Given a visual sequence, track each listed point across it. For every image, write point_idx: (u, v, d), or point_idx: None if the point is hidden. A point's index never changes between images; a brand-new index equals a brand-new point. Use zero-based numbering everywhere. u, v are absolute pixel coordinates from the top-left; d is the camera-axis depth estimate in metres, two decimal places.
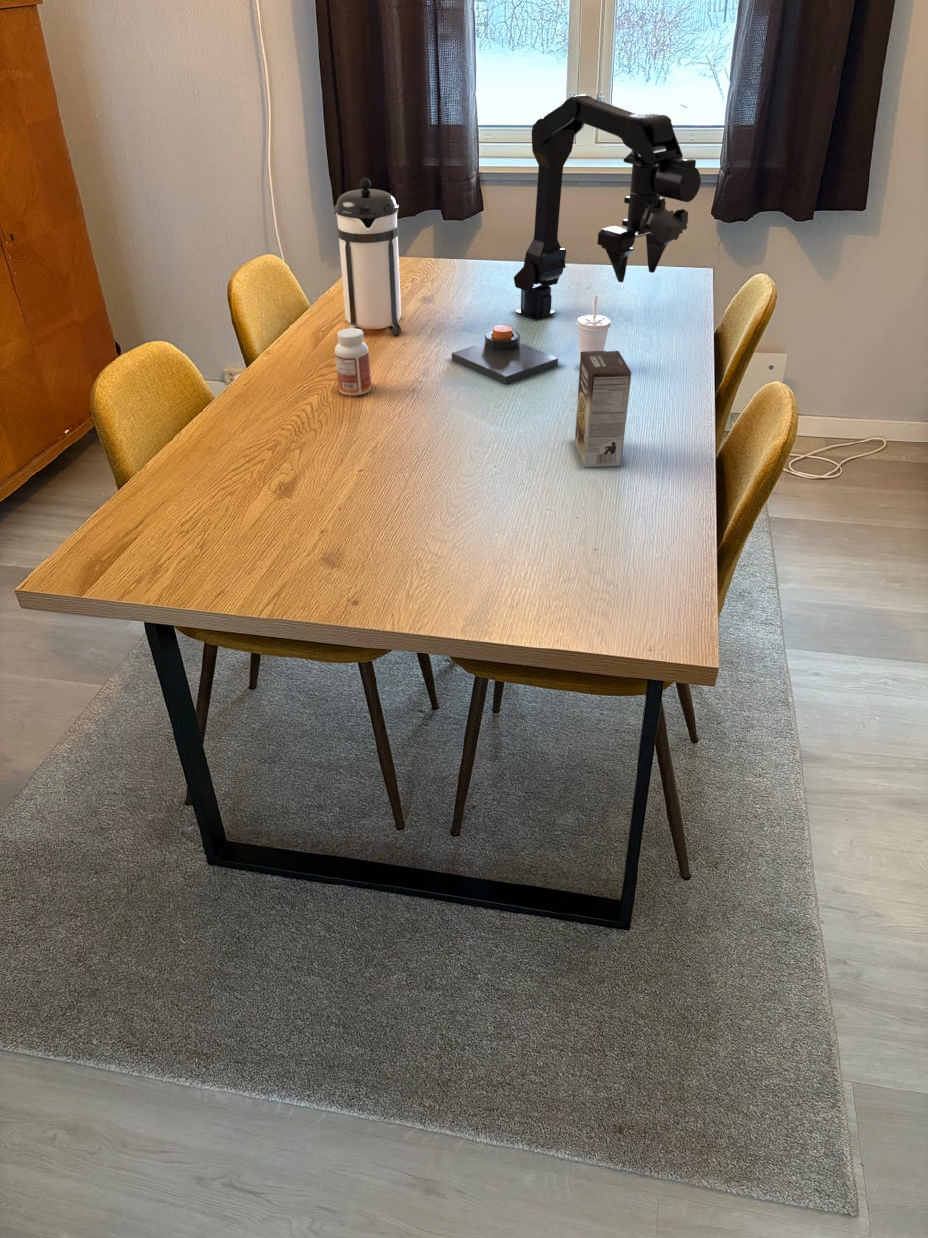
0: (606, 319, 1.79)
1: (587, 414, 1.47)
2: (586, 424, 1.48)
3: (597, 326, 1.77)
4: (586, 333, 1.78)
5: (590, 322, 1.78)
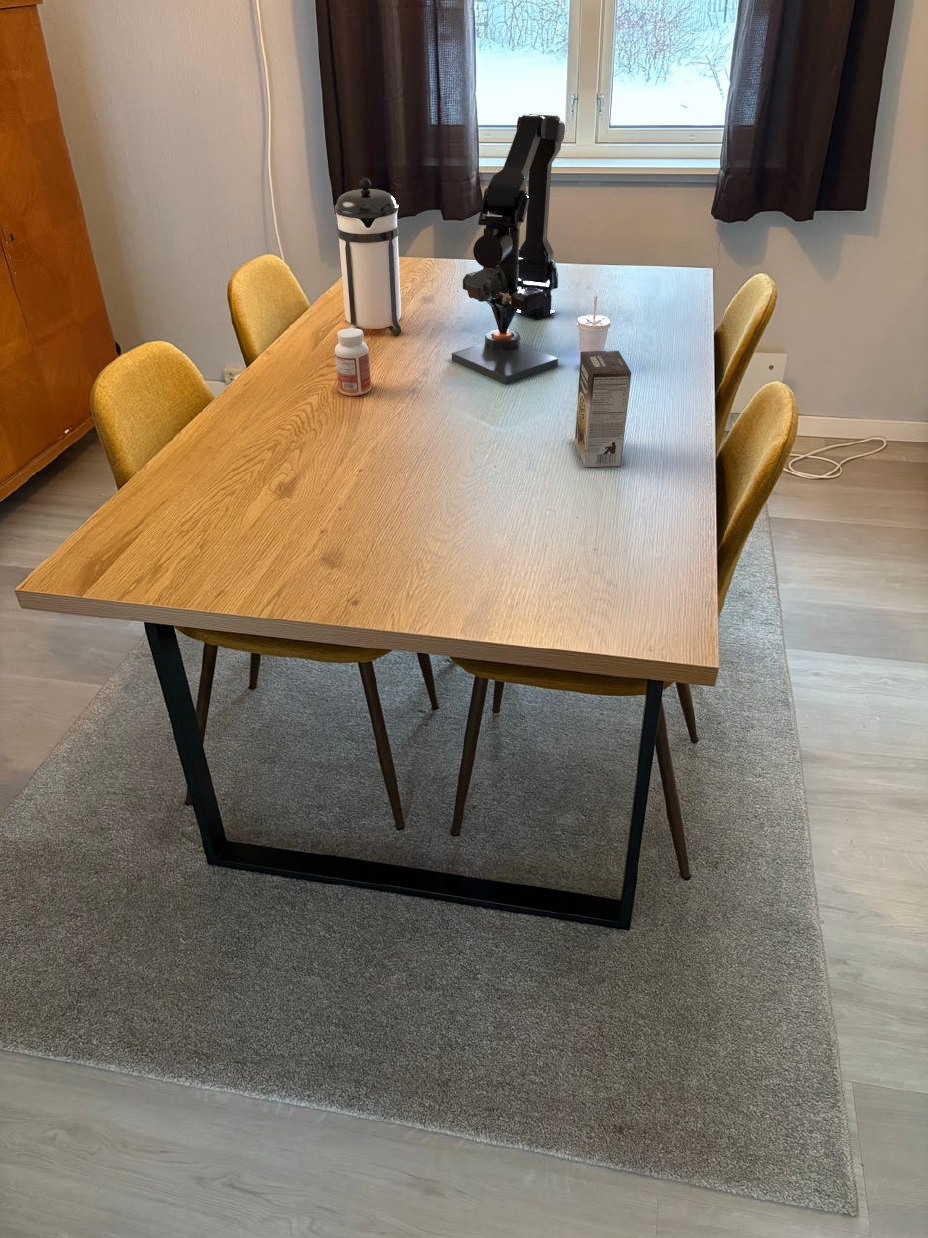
0: (606, 319, 1.79)
1: (587, 414, 1.47)
2: (586, 424, 1.48)
3: (597, 326, 1.77)
4: (586, 333, 1.78)
5: (590, 322, 1.78)
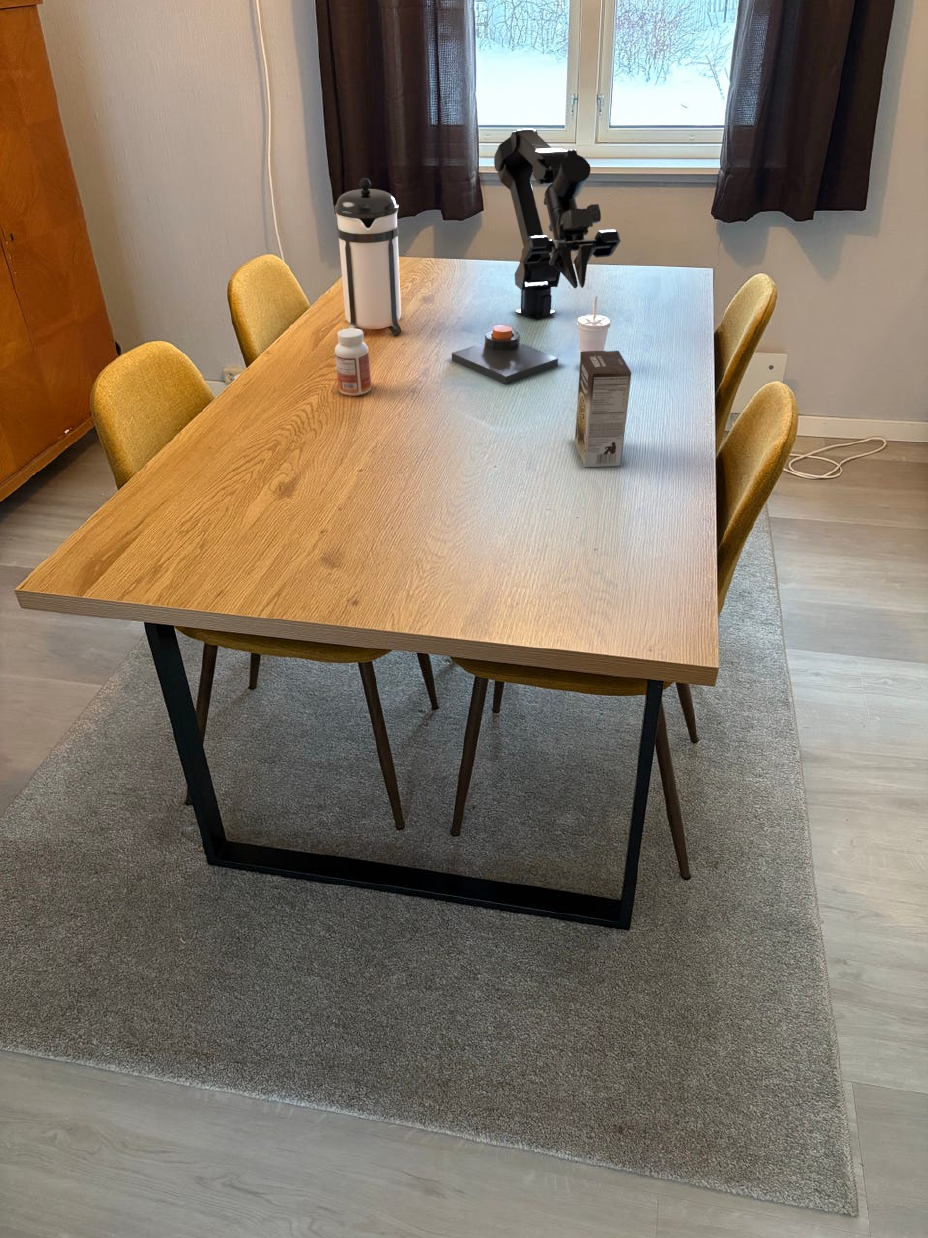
0: (606, 319, 1.79)
1: (587, 414, 1.47)
2: (586, 424, 1.48)
3: (597, 326, 1.77)
4: (586, 333, 1.78)
5: (590, 322, 1.78)
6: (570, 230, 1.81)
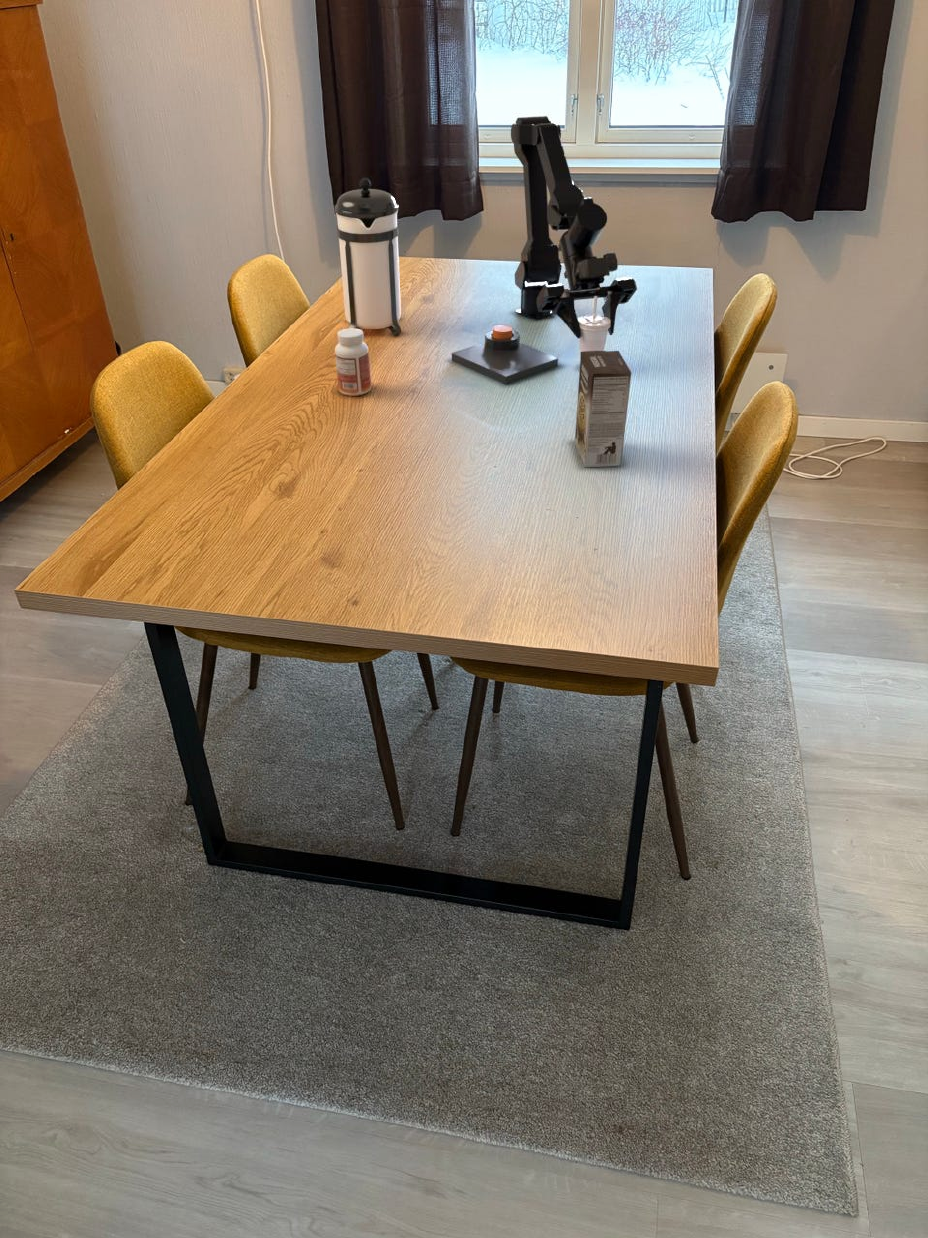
0: (606, 319, 1.79)
1: (587, 414, 1.47)
2: (586, 424, 1.48)
3: (597, 326, 1.77)
4: (586, 333, 1.78)
5: (590, 322, 1.78)
6: (586, 278, 1.77)
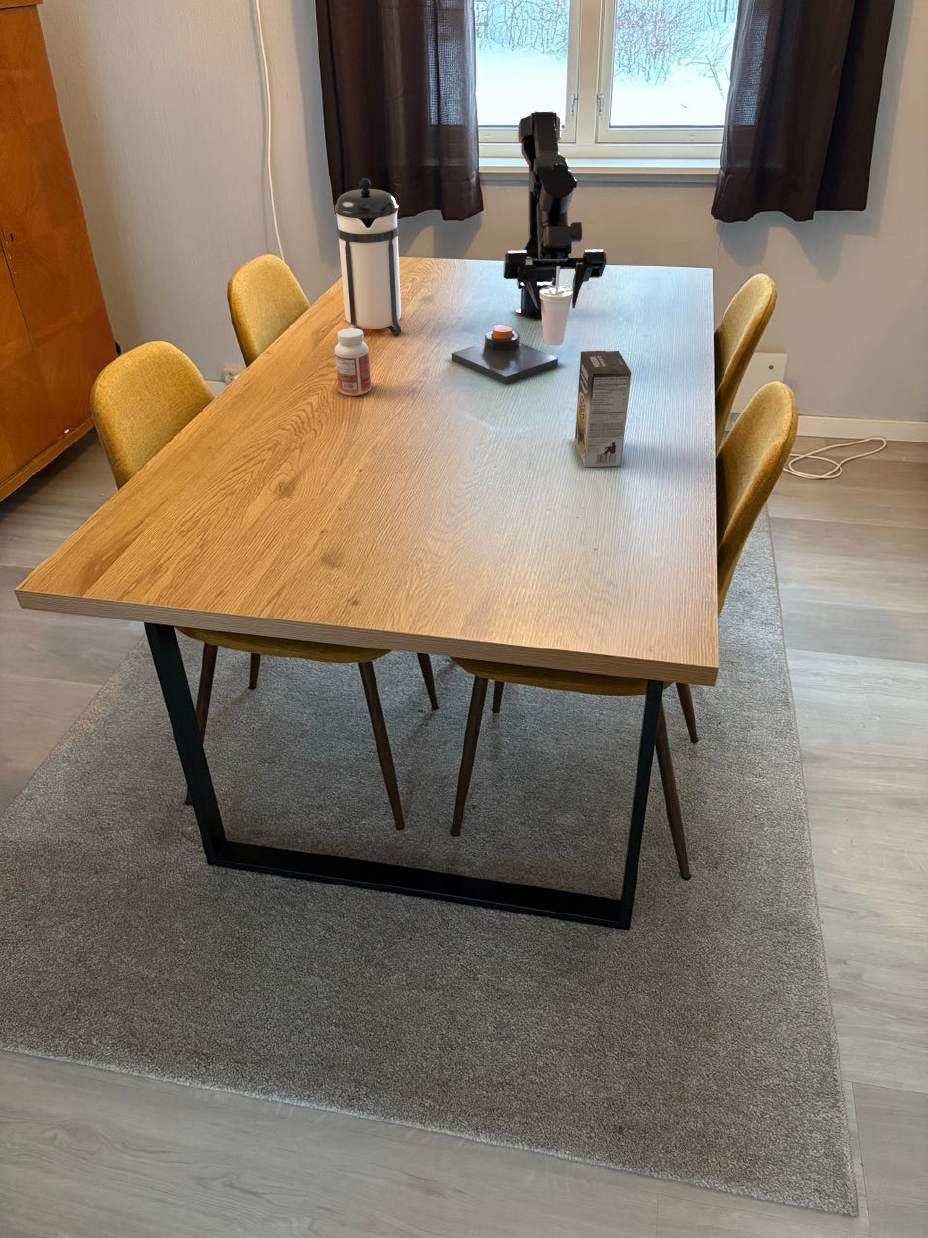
0: (569, 291, 1.74)
1: (587, 414, 1.47)
2: (586, 424, 1.48)
3: (555, 297, 1.71)
4: (544, 304, 1.73)
5: (550, 293, 1.73)
6: (551, 247, 1.72)
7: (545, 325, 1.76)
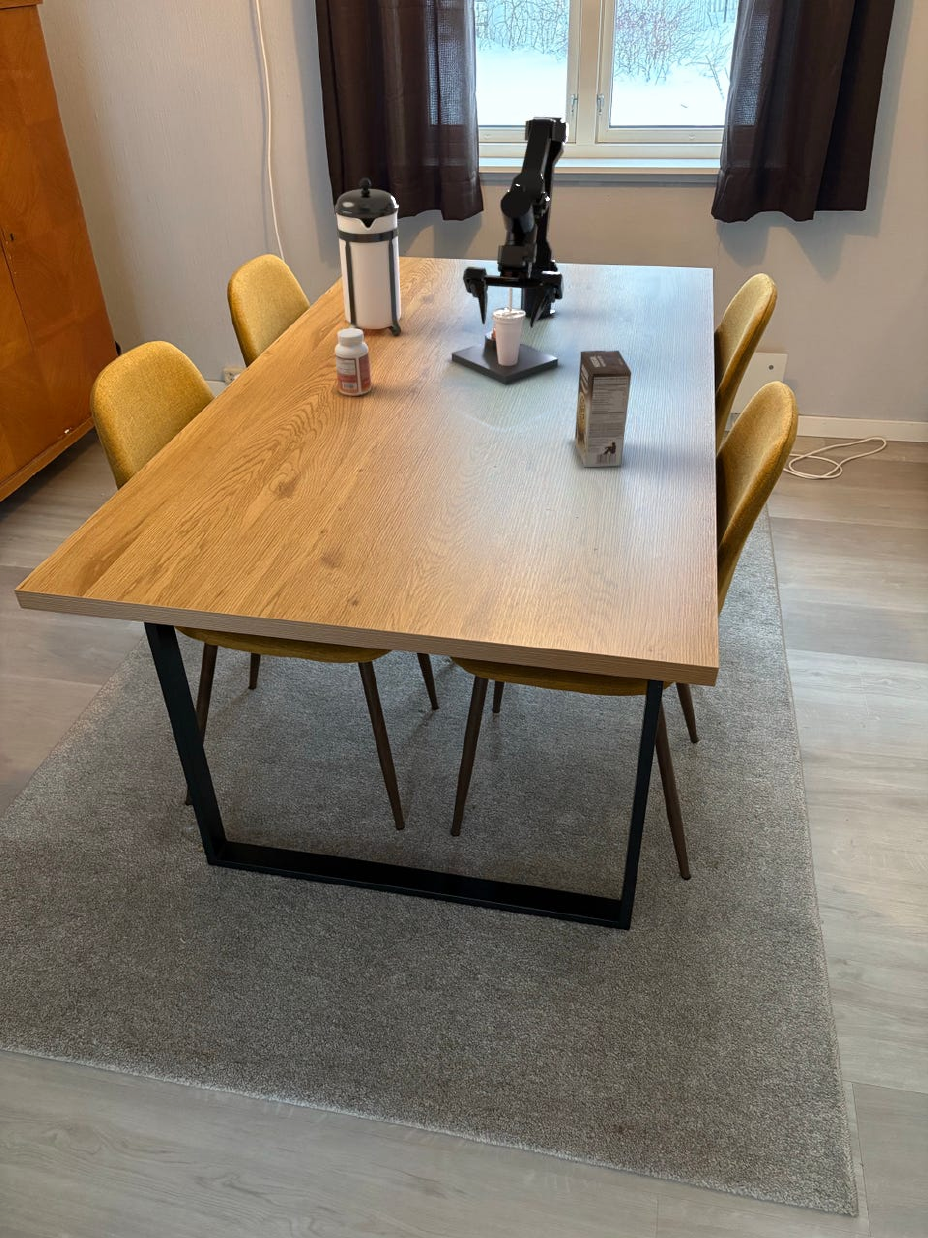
0: (521, 314, 1.77)
1: (587, 414, 1.47)
2: (586, 424, 1.48)
3: (503, 318, 1.75)
4: (495, 324, 1.77)
5: (502, 314, 1.77)
6: (509, 266, 1.75)
7: (497, 345, 1.80)
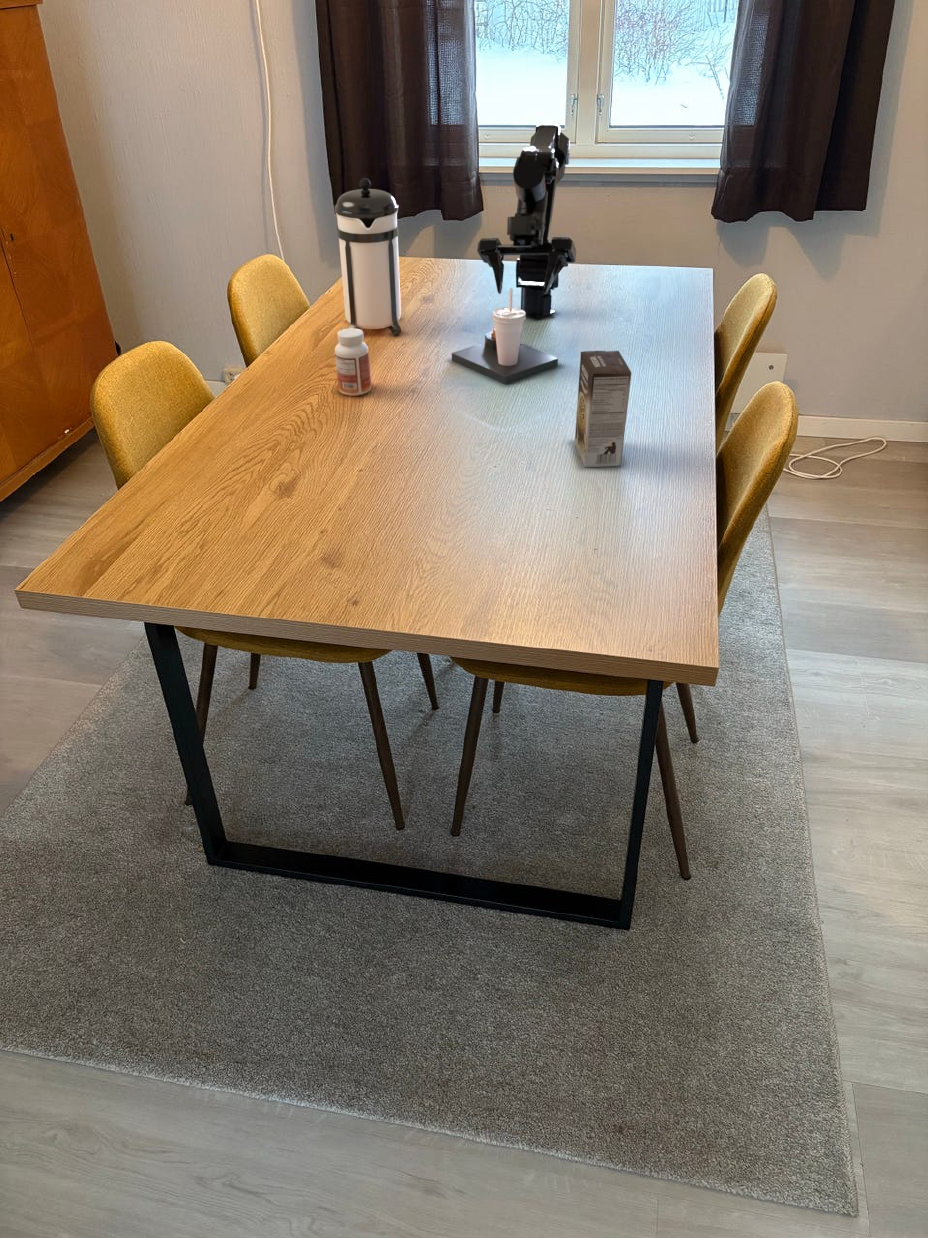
0: (521, 314, 1.77)
1: (587, 414, 1.47)
2: (586, 424, 1.48)
3: (503, 318, 1.75)
4: (495, 324, 1.77)
5: (502, 314, 1.77)
6: (520, 235, 1.81)
7: (497, 345, 1.80)
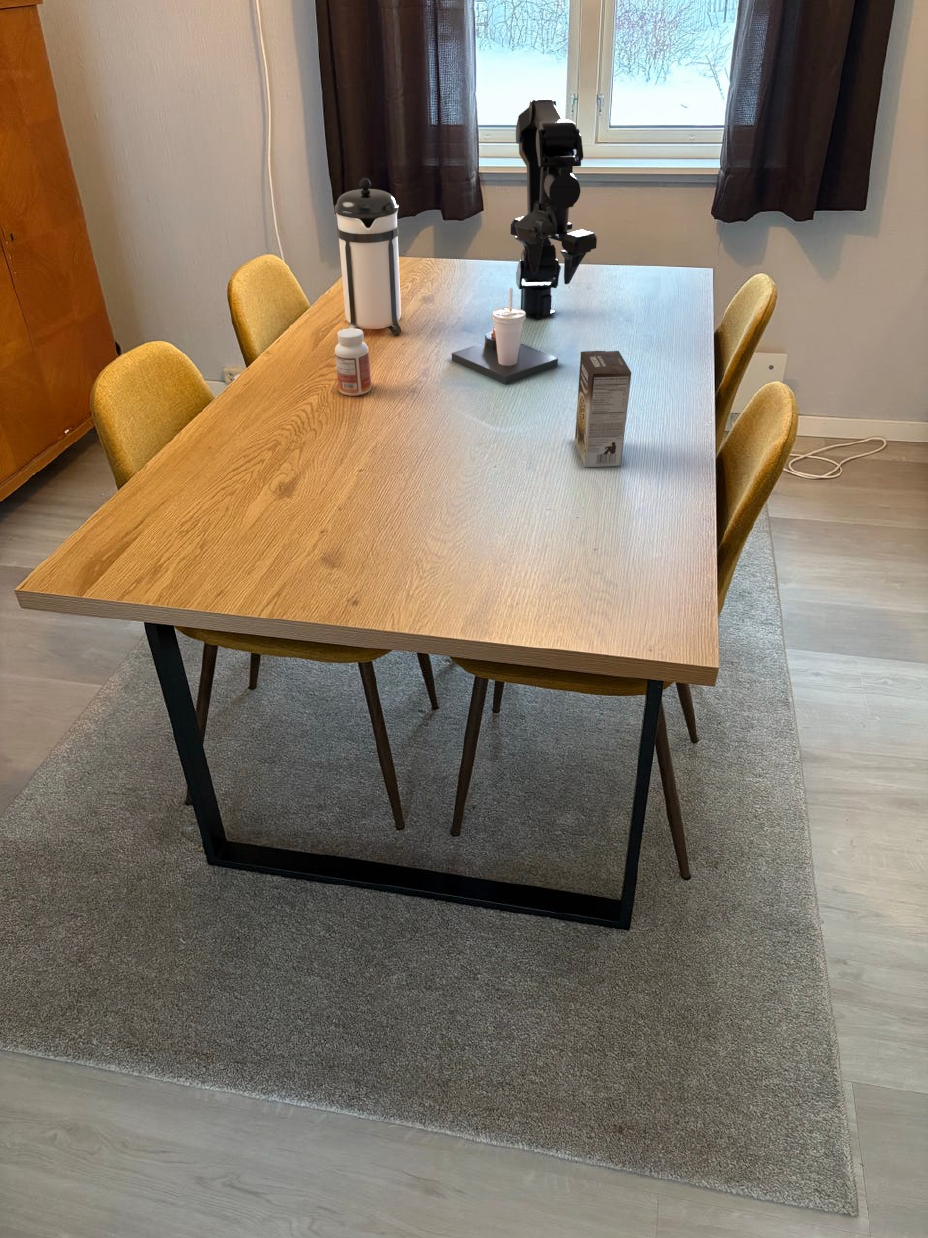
0: (521, 314, 1.77)
1: (587, 414, 1.47)
2: (586, 424, 1.48)
3: (503, 318, 1.75)
4: (495, 324, 1.77)
5: (502, 314, 1.77)
6: None
7: (497, 345, 1.80)
